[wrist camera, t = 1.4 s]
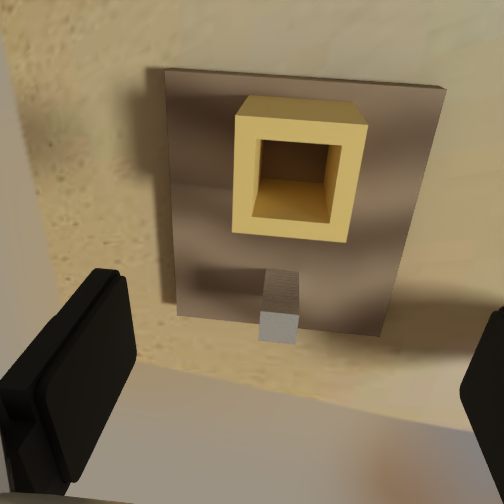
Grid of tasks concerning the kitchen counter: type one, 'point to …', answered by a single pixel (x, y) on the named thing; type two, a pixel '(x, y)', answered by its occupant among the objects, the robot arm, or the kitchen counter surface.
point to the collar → (297, 192)
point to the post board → (294, 169)
